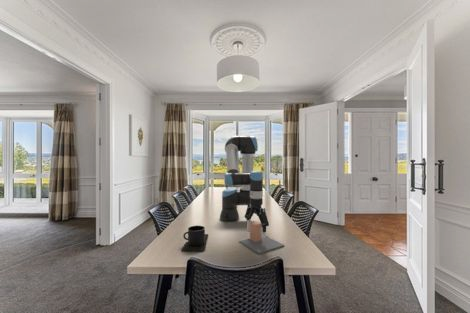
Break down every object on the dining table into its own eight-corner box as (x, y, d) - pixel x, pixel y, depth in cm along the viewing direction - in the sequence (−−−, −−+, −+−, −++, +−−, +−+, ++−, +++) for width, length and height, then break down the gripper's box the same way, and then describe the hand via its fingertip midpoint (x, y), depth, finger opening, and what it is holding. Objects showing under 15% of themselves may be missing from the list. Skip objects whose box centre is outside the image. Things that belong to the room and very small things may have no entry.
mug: (184, 240, 133) (184, 225, 133) (205, 240, 134) (205, 225, 134) (182, 247, 124) (182, 231, 123) (204, 247, 124) (204, 230, 124)
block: (249, 239, 133) (250, 222, 133) (256, 237, 136) (256, 221, 136) (255, 242, 129) (255, 225, 129) (261, 240, 132) (262, 223, 132)
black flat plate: (175, 253, 118) (204, 252, 119) (175, 252, 118) (204, 250, 119) (184, 235, 143) (208, 234, 144) (184, 234, 143) (208, 233, 144)
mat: (239, 242, 131) (239, 240, 131) (263, 236, 141) (263, 234, 141) (259, 254, 116) (259, 252, 116) (284, 246, 126) (284, 244, 126)
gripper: (239, 194, 140) (238, 228, 141) (265, 202, 120) (264, 242, 120) (248, 193, 144) (248, 226, 145) (275, 200, 124) (275, 239, 124)
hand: (255, 233), depth 133 cm, fingers open, 13 cm apart
